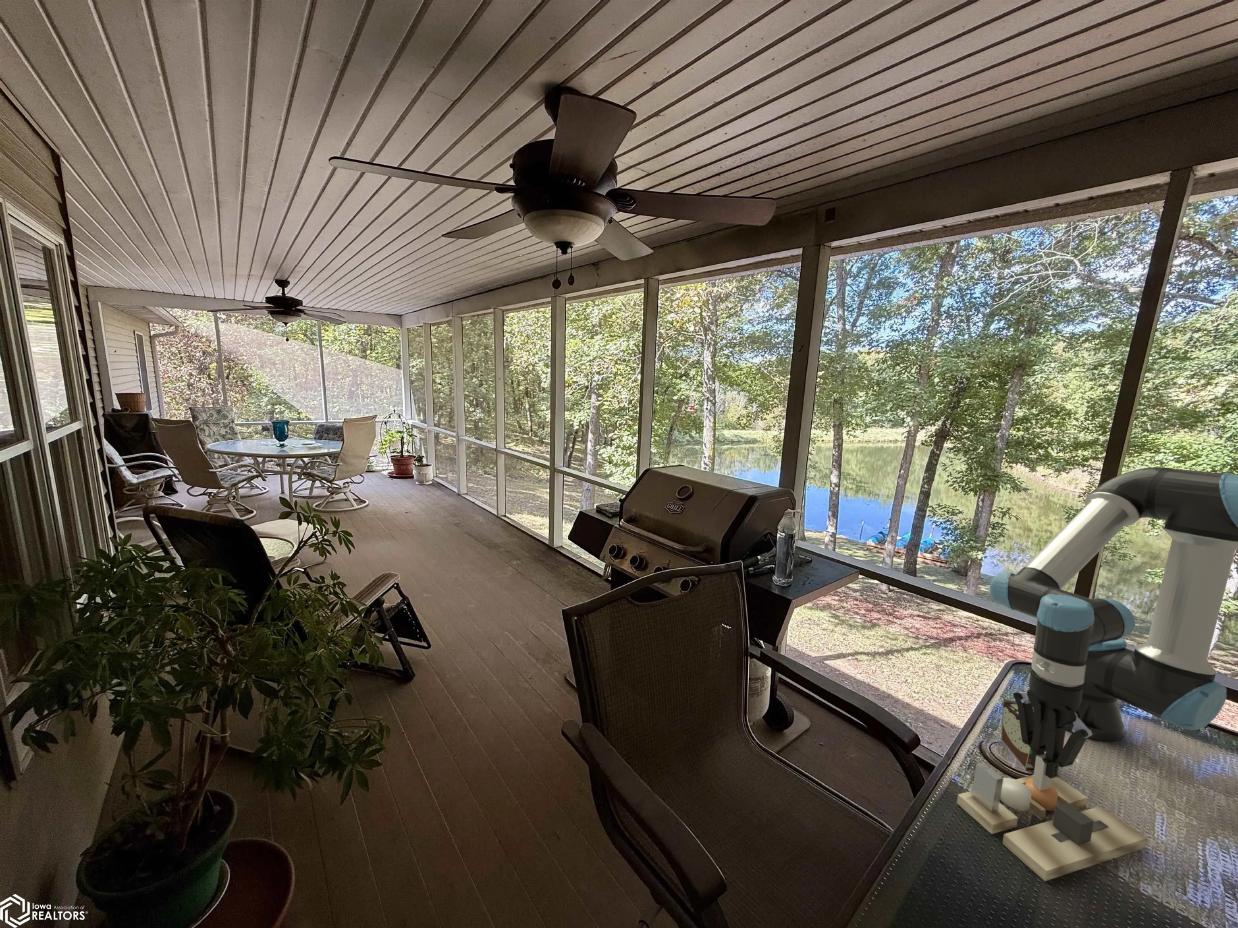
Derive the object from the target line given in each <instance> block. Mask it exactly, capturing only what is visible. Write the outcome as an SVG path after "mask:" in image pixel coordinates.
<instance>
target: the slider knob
mask: <svg viewBox="0 0 1238 928" xmlns="http://www.w3.org/2000/svg"><path fill="white" fill-rule="evenodd" d="M1053 820H1054V821H1053V826H1054V827H1056V828H1057V829H1058V830H1060V831H1061V832H1062V833H1063V834H1065V835H1066V836H1067V837H1069V838H1070V839H1071V840H1073V841H1074V842H1075V843H1076V844H1078V845H1079V844H1082V843H1085V842H1089V841H1091V835H1092V828H1093V822H1094V821H1093V820H1092V819H1090V818H1089V817H1087V816H1086V815H1085V814H1083V813H1082V812H1081V811H1080V810H1079V809H1076V808H1075V807H1073V806H1072V805H1070V804H1069V803H1064V804H1061V805H1057V804H1056V807H1055V810H1054V815H1053Z"/></svg>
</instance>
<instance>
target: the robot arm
mask: <svg viewBox="0 0 1238 928" xmlns="http://www.w3.org/2000/svg"><path fill="white" fill-rule="evenodd" d="M1084 505H1085V506H1084V507H1082V509H1081V510H1080V511H1078V513H1077V514H1075V516H1073V518H1071V520H1069V522H1068V523H1067V524H1066V525H1065V526H1064V527H1063V528H1062V529H1061V530H1059V532H1057V534H1055V535H1054V536H1053V537H1052V538H1051V539H1050V541H1049V542H1047V543H1046V544H1045V545H1044V546H1043V547H1042V548H1041V549H1040V550H1039V551H1038V552H1037V553H1036V554H1035V555H1034V556H1032V557H1033V558H1031V560H1030V561H1028V562H1027V563H1026V564H1025V565H1024V566H1023V567H1022V568H1021V569H1020V570H1019V571H1018V572H1017V573H1013V572H1007V571H1002V572H998V573H996V575H994V576H993V578H992V580H991V581H990V584H989V594H990V595H991V597H990V598H991V599H992V600H993V601H994V602H996V603H997V604H999V605H1001V606H1004V607H1006V608H1008V609H1010V610H1012V611H1015V612H1016V611H1017V612H1018V613H1022V614H1025V615H1027V616H1030V617H1032V618H1035V619H1036V626H1035V627H1036V628H1035V635H1034V636H1035V638H1034V644H1033V651H1032V660H1031V670H1030V673H1029V681H1028V690H1021V691H1017V692H1016V691H1015V692H1013V694H1012V695H1013V698H1014V701H1016V703H1017V706H1018V714H1019V721H1020V729H1021V737H1022V742H1023V743H1024V744H1026V745H1028V746H1029V747H1030V748H1031V751H1032V758H1031V765H1032V766H1033V767H1034V768H1035V769H1034V770H1033V775H1034V776H1033V784H1032V785H1033V786H1034V787H1036V788H1037V789H1038V790H1040V791H1042V790H1046V789H1050V788H1051V783H1052V778H1055V777H1058V773H1059V768H1064V767H1065V768H1066V767H1069V766H1072V765H1073V764H1074V762H1075V761H1076V759H1077V757H1078V755H1079V753H1080V752H1081V750H1082V748H1083V747H1084V745H1085V743H1086V742H1087V739H1092V740H1095V741H1104V742H1115V741H1120V740H1121V739H1122V738H1123V736H1124V729H1125V725H1124V722H1123V720H1122V719H1123V718H1122V716H1121V711H1120V707H1119V705H1118V700H1119V701H1121V702H1124V703H1125V704H1128V705H1130V706H1132V707H1134V708H1137V709H1139V710H1141V711H1143V712H1146V714H1147V713H1148V714H1149V715H1152V716H1154V717H1156V718H1158V719H1160V721H1163V722H1167V723H1170V724H1172V725H1173V726H1177V727H1180V728H1181V729H1185V730H1187V731H1196V730H1197V731H1198V730H1200V729H1203V728H1205V727H1206V726H1208V725H1209V724H1210V723H1212V721H1213V720H1215V718H1216V717H1217V716H1218V715H1219V713H1220V712H1221V711H1222V709H1223V707H1224V705H1225V703H1226V699H1227V695H1228V694H1227V690H1228V689H1227V687H1226V686H1224V685H1223V684H1222V683H1221V682H1219V681H1215V678H1216V674H1217V670H1216V669H1215V668H1214V666H1212V664H1211V663H1209V661H1208V657H1209V653H1210V650H1211V646H1212V642H1213V638H1214V635H1215V634H1214V633H1215V631H1216V627H1217V622H1218V619H1219V614H1220V611H1221V607H1222V603H1223V599H1224V597H1225V596H1224V595H1225V593H1226V592H1225V591H1226V588H1227V584H1228V580H1229V576H1230V572H1231V568H1232V564H1233V561H1234V557H1235V553H1236V551H1237V550H1238V474H1233V473H1223V472H1221V473H1220V472H1214V471H1213V472H1210V471H1203V470H1191V469H1181V468H1172V467H1171V468H1170V467H1164V466H1152V467H1151V466H1150V467H1145V468H1137V469H1134V470H1131V471H1127V472H1125V473H1122V474H1120V475H1117V476H1115V477H1113V478H1110V479H1109V480H1107V481H1105V482H1103V483H1102V484H1100V485H1098V486H1097V487H1096V488H1095V489H1093V491H1092V492H1090V493H1089V494H1088V495H1087V497H1086V498H1085V499H1084ZM1145 518H1146V519H1147V518H1148V519H1149V518H1152V519H1156V520H1162V521H1164V527H1163V531H1165V532H1166V534H1168V536H1170V537H1171V543H1170V547H1169V551H1168V555H1167V558H1166V559H1167V560H1166V563H1165V566H1164V570H1163V571H1164V572H1163V575H1162V580H1161V582H1160V583H1161V584H1160V587H1159V592H1158V596H1157V598H1156V603H1155V608H1154V612H1153V616H1152V621H1151V625H1150V629H1149V632H1148V637H1147V641H1146V642H1145V643H1142V644H1139V645H1136V646H1135V647H1134V650H1131V649H1129V648H1127V646H1128V643H1127V641H1126V640H1125V638H1123V637H1126V636H1128V635H1130V634H1131V633H1132V632H1133V631H1134V629H1135V626H1136V619H1135V616H1134V614H1133V612H1132V611H1131V610H1130V608H1128V607H1127V606H1126V604H1123V603H1122V602H1120V601H1118V600H1115V599H1112V598H1101V597H1100V598H1099V597H1097V598H1089V597H1086V596H1082V595H1079V594H1076V593H1074V592H1070V591H1067V590H1065V589H1064V588H1065V586H1067V585H1068V584H1069V582H1071V581H1072V579H1073V578H1075V576H1076V575H1078V573H1080V571H1082V569H1083V568H1084V567H1085V566H1086V565H1088V564H1089V562H1090V561H1091V560H1092V559H1093V558H1094V557H1095V556H1097V554H1098V553H1099V552H1100V551H1101V550H1102V549H1103V548H1104V547H1105V546H1106V545H1107V544H1108V543H1109V542H1110V541H1111V540H1112V539H1113V538H1114V537H1115V536H1116V535H1117V534H1118V533H1119V532H1120V531H1121V529H1123V527H1128V526H1133V525H1135V523H1137V522H1138V521H1139V520H1140V519H1145ZM1033 708H1034V712H1033ZM1066 731H1067V732H1070V733H1071V734H1070V735H1069V736H1068V739H1067V741H1066V742H1065V738H1066V737H1065V736H1066ZM1064 743H1065V744H1064ZM1044 752H1045V753H1044Z"/></svg>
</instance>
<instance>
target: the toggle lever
mask: <svg viewBox="0 0 1238 928" xmlns="http://www.w3.org/2000/svg"><path fill="white" fill-rule="evenodd" d="M975 765H976V766H975V771H974V778H973V779H974V780H973V785H972V790H971V791H972V797H973V798H974V799H976V800H977V801H978V802H979V803H980V804H982V805H983V806H984V807H985V808H986V809H988V810H989V811H990V812H991V813H993V812H997V811H998V808H999V803H1001V802H1000V801H1001V799H1000V796H1001V790H1002V784H1003V778H1004V777H1003V776H1001V774H998V773H997V772H996V771H994V770H993V769H992V768H990V767H989V766H988V765H987V764H986V763H984V762H981V763H976V764H975Z"/></svg>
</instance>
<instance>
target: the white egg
mask: <svg viewBox="0 0 1238 928" xmlns="http://www.w3.org/2000/svg"><path fill="white" fill-rule="evenodd" d="M1002 778H1003V784H1002V790H1001V796H1000V801H1001V802H1003V803H1004V804H1005V805H1006V806H1007V807H1009V808H1012V809H1013V810H1017V811H1022V812H1027V811H1029V808H1030V802H1031V791H1030V790H1029V788H1028V787H1027V786H1025V785H1024V784H1022V783H1021V782H1019V781H1017V780H1016V779H1014V778H1010V777H1002Z"/></svg>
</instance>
